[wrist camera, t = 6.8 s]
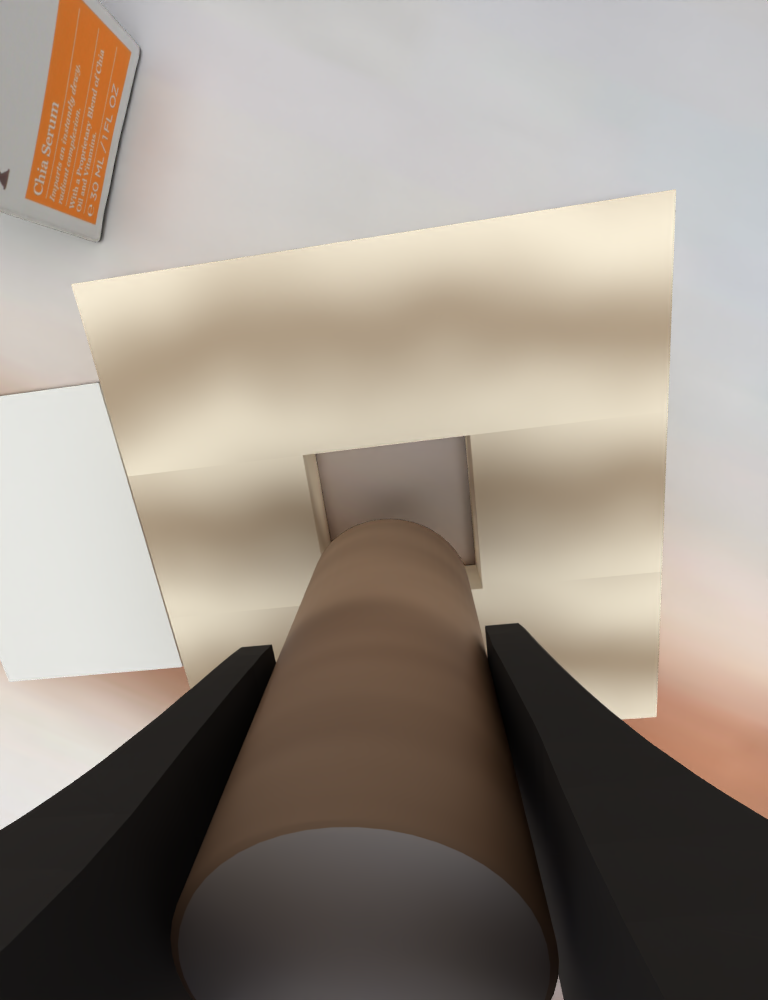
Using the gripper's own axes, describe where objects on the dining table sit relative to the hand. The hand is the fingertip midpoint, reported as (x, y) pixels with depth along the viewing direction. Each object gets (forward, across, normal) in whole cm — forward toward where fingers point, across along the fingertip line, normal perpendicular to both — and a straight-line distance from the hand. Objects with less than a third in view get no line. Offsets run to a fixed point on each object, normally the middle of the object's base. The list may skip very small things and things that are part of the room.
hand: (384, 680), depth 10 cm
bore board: (+10, 0, 0) cm, 10 cm away
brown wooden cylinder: (+3, 0, 0) cm, 3 cm away
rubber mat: (+10, +14, 0) cm, 17 cm away
